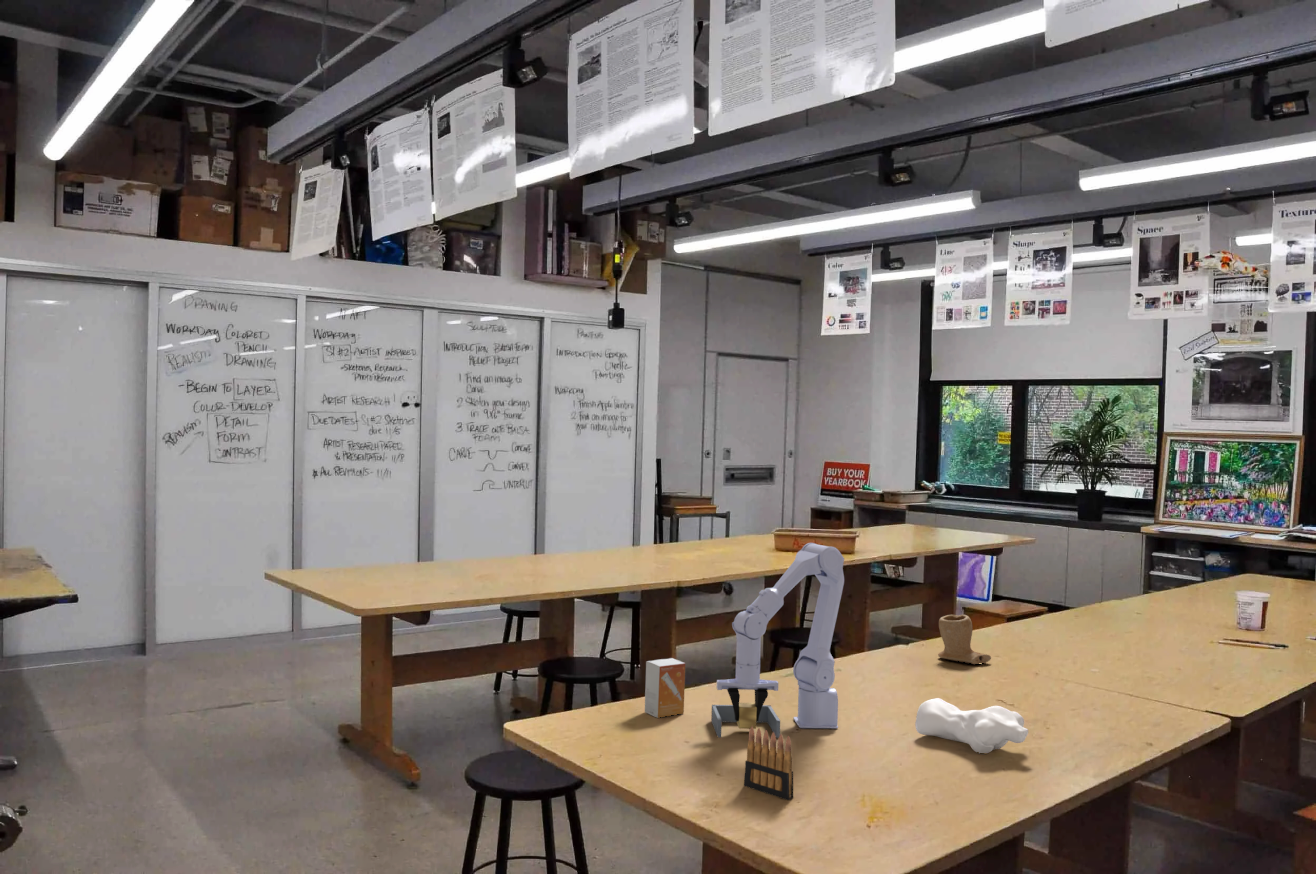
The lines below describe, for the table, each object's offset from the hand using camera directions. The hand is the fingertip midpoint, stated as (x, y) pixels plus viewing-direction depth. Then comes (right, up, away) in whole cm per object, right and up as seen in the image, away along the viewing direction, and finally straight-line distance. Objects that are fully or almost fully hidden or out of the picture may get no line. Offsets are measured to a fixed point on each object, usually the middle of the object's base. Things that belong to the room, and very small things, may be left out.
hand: (746, 720), depth 227 cm
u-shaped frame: (0, -3, +2) cm, 4 cm away
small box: (-19, -3, +14) cm, 24 cm away
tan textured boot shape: (+77, -6, +81) cm, 112 cm away
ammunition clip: (+1, -3, -38) cm, 38 cm away
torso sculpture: (+52, -5, -6) cm, 53 cm away
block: (0, -2, 0) cm, 2 cm away
